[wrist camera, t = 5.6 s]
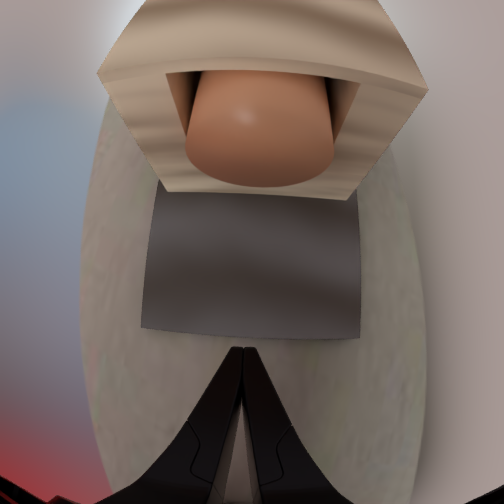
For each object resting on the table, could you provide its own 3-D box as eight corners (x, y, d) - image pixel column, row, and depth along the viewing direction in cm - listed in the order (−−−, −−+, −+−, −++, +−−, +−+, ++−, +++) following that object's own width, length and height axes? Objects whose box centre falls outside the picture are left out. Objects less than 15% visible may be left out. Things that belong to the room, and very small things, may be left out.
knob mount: (354, 337, 17) (488, 355, 5) (146, 327, 17) (10, 332, 5) (340, 111, 21) (384, -3, 9) (181, 103, 21) (147, -15, 9)
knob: (316, 191, 14) (353, 117, 8) (198, 185, 14) (169, 108, 8) (309, 94, 15) (327, 18, 10) (213, 89, 15) (203, 12, 10)
